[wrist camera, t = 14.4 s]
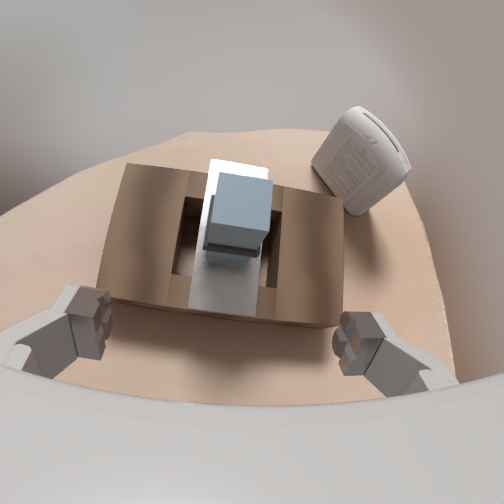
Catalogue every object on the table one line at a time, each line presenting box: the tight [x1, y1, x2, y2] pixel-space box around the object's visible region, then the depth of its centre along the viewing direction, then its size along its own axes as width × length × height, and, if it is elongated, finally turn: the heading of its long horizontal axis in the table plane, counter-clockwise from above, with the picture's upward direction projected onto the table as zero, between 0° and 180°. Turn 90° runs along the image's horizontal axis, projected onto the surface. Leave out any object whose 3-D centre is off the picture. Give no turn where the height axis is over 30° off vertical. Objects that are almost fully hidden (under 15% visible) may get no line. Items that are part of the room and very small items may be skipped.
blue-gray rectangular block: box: [203, 172, 273, 261], centre depth 26 cm, size 5×5×8 cm
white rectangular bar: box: [188, 159, 268, 318], centre depth 31 cm, size 6×15×4 cm, turn 174°
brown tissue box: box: [96, 163, 344, 328], centre depth 33 cm, size 24×14×5 cm, turn 84°
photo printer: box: [311, 106, 412, 216], centre depth 35 cm, size 10×4×12 cm, turn 36°
